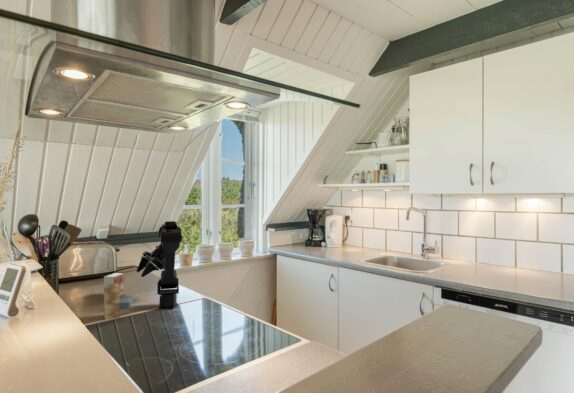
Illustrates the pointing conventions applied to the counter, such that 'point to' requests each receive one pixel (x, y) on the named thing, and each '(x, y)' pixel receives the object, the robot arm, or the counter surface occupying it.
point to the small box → (115, 281)
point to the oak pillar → (111, 301)
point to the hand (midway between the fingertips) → (139, 274)
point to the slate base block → (125, 302)
